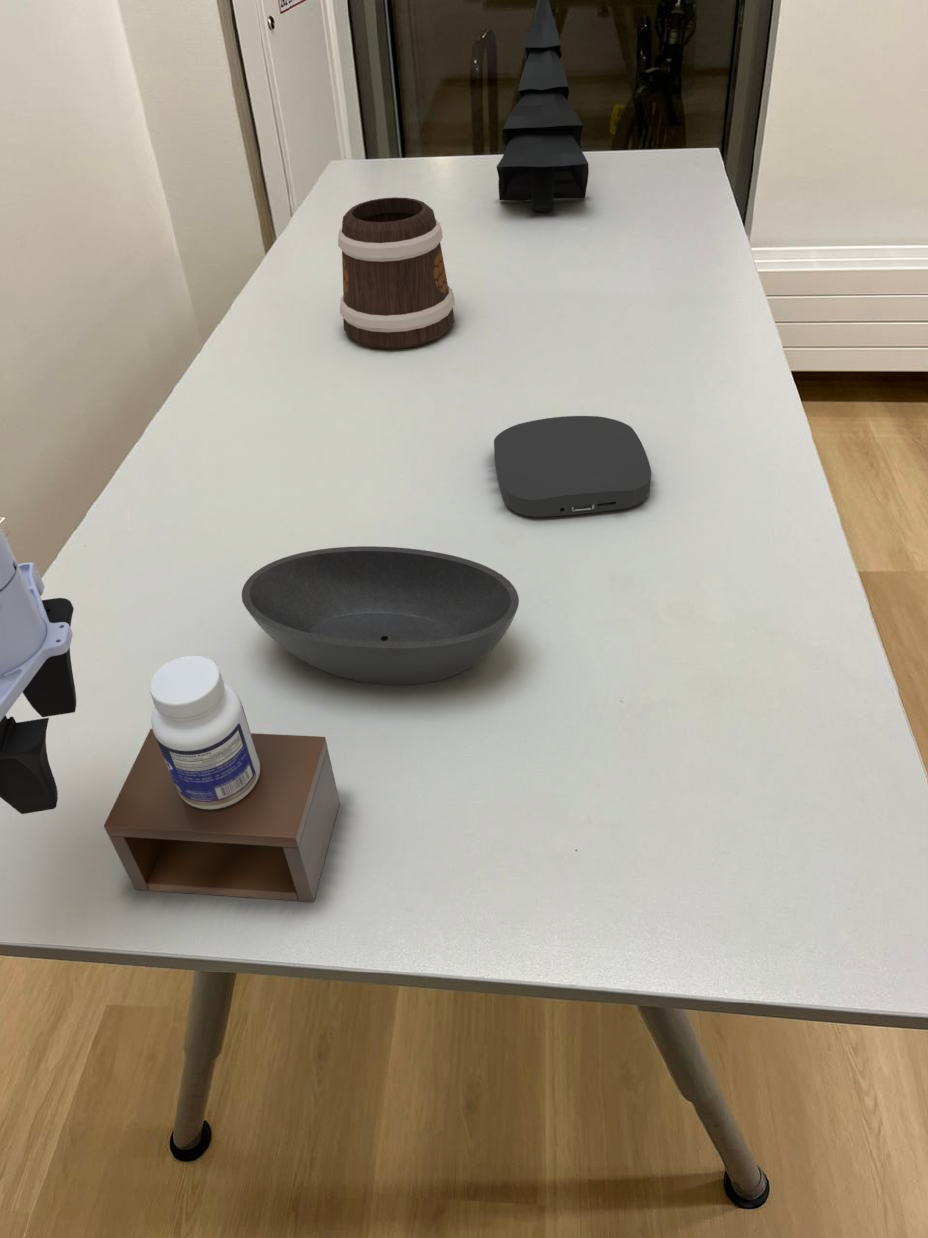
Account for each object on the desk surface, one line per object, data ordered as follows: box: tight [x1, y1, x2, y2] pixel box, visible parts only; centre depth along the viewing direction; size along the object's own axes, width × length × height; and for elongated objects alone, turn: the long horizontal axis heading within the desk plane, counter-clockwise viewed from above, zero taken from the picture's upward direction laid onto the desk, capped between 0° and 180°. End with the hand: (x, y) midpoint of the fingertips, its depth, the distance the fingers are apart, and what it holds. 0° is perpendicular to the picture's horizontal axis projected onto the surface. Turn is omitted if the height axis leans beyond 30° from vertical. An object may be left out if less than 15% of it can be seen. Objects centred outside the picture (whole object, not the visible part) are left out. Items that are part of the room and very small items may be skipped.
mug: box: [337, 196, 456, 350], centre depth 123 cm, size 20×15×15 cm
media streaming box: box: [493, 415, 652, 518], centre depth 95 cm, size 15×15×3 cm
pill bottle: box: [149, 655, 260, 809], centre depth 57 cm, size 5×5×9 cm
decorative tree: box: [496, 0, 590, 214], centre depth 153 cm, size 15×15×35 cm
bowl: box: [241, 545, 520, 685], centre depth 76 cm, size 12×22×6 cm, turn 79°
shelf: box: [103, 728, 341, 903], centre depth 62 cm, size 12×8×7 cm, turn 84°
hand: (49, 756), depth 57 cm, fingers open, 7 cm apart
